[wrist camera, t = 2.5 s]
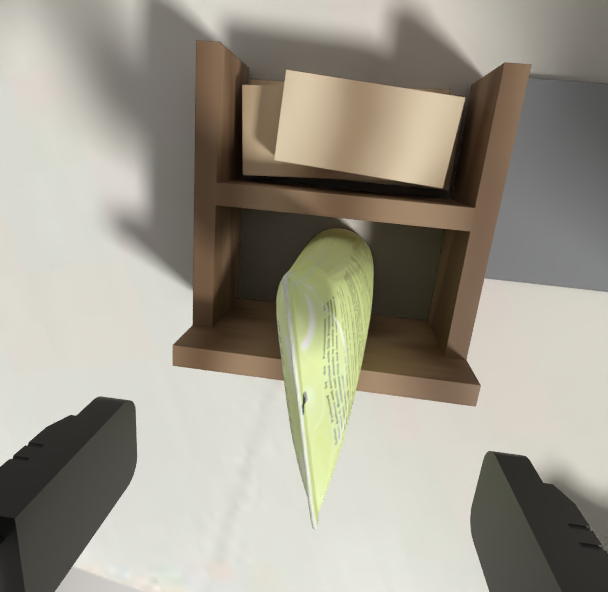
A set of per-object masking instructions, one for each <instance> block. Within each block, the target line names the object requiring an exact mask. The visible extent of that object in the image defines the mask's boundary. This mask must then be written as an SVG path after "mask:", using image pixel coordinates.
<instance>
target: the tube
mask: <svg viewBox="0 0 608 592" xmlns="http://www.w3.org/2000/svg"><path fill="white" fill-rule="evenodd" d="M372 297H373V257H372V253H371V251H370V248H369V246H368V245H367V243H366V242H365V241H364V240H363V239H362V238H361V237H360V236H359V235H357V234H356V233H354V232H352V231H349V230H346V229H337V228H335V229H328V230H325V231H323V232H320V233H319V234H317V235H316V236H314V237H313V238H312V239H311V240H310V241H309V242H308V244H307V245H306V246H305V248H304V249H303V251H302V252H301V254H300V255H299V257H298V258H297V260H296V261H295V262H294V264H293V265H292V267H291V268H290V270H289V271H288V272H287V273H286V274H285V275H284V276H283V278H282V280H281V282H280V285H279V288H278V292H277V299H276V315H277V326H278V335H279V344H280V352H281V360H282V368H283V377H284V385H285V392H286V400H287V407H288V414H289V421H290V428H291V433H292V439H293V443H294V448H295V452H296V457H297V461H298V465H299V470H300V474H301V477H302V481H303V484H304V488H305V491H306V494H307V497H308V505H309V511H310V517H311V522H312V528H313V529H314V530H316V529H317V527H318V513H319V511H320V508H321V505H322V502H323V500H324V497H325V494H326V492H327V489H328V486H329V483H330V480H331V477H332V474H333V471H334V468H335V465H336V462H337V459H338V456H339V452H340V449H341V446H342V442H343V439H344V435H345V431H346V428H347V424H348V420H349V416H350V413H351V409H352V404H353V400H354V396H355V391H356V387H357V383H358V379H359V375H360V370H361V365H362V361H363V356H364V351H365V345H366V340H367V334H368V328H369V322H370V316H371V307H372Z"/></svg>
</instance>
